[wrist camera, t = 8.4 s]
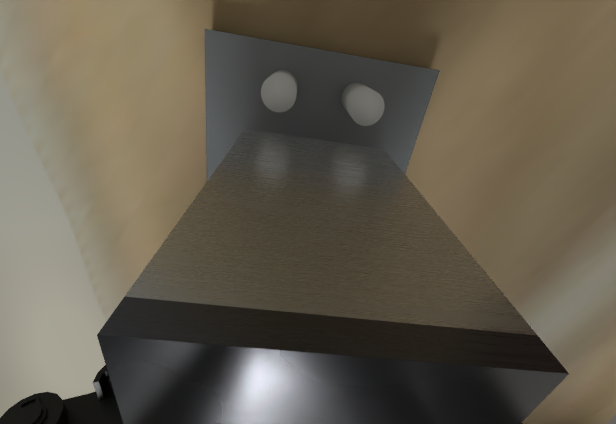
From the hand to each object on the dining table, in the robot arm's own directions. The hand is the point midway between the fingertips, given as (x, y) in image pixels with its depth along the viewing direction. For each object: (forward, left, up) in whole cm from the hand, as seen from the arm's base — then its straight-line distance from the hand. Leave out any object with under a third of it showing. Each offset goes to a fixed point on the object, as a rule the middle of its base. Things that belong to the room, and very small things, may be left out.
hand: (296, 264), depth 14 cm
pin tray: (0, 0, -5) cm, 5 cm away
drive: (0, 0, -1) cm, 1 cm away
